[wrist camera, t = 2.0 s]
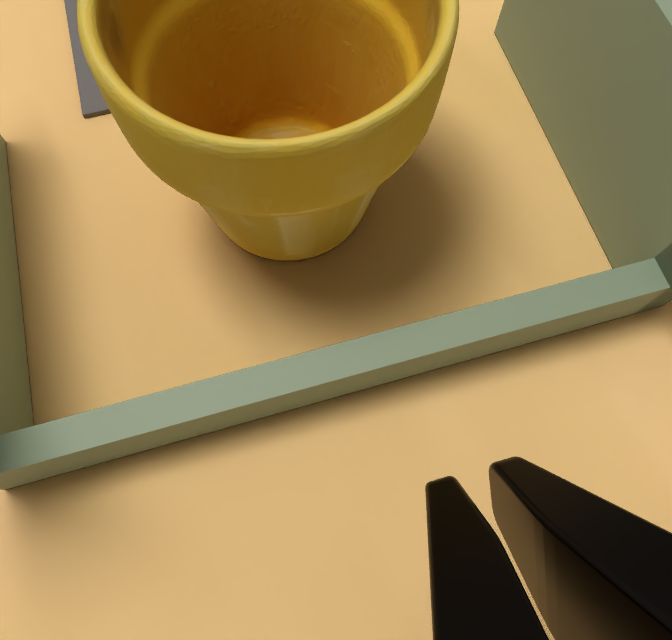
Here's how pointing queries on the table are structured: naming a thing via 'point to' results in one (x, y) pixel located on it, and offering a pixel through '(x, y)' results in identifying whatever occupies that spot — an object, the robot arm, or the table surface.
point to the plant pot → (272, 104)
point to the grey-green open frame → (446, 330)
